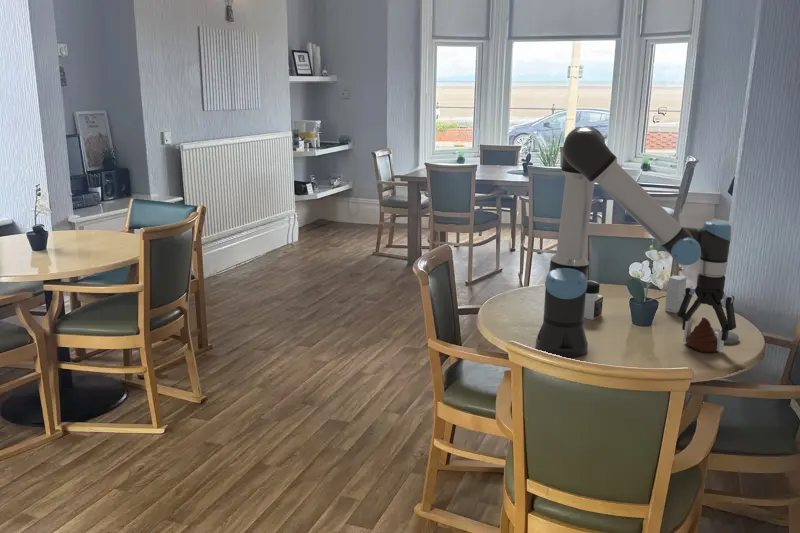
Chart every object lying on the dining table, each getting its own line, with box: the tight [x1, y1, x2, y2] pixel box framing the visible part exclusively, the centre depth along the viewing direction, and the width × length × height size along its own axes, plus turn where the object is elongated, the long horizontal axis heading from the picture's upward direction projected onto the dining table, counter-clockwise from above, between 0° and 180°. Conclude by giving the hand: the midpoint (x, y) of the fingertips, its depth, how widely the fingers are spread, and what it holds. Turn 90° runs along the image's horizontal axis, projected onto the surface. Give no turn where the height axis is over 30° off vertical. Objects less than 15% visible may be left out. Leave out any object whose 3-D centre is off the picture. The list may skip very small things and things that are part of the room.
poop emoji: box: [685, 317, 719, 354], centre depth 210 cm, size 10×8×9 cm
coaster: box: [713, 328, 739, 345], centre depth 219 cm, size 11×11×1 cm
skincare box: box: [664, 274, 687, 314], centre depth 245 cm, size 6×4×12 cm
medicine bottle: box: [584, 280, 604, 321], centre depth 238 cm, size 7×7×12 cm
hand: (702, 345), depth 211 cm, fingers closed on poop emoji, 10 cm apart
